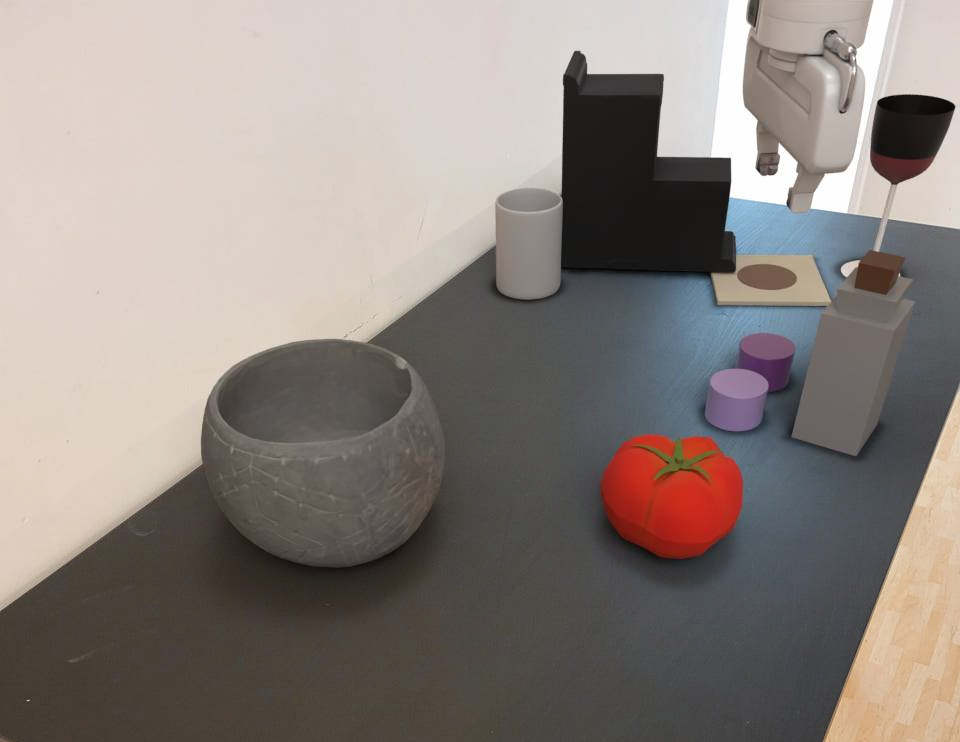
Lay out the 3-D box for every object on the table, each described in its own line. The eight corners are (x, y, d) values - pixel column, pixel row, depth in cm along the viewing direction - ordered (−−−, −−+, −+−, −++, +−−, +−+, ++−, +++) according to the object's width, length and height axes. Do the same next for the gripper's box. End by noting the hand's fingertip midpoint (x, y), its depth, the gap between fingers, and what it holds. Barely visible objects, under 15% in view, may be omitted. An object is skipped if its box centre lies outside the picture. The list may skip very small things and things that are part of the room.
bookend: (735, 241, 130) (761, 46, 114) (735, 274, 123) (763, 71, 106) (568, 238, 134) (570, 50, 118) (559, 271, 127) (559, 74, 110)
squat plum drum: (783, 365, 107) (791, 332, 105) (792, 392, 103) (799, 359, 100) (730, 365, 108) (736, 332, 105) (736, 392, 104) (743, 359, 101)
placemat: (811, 259, 127) (812, 254, 127) (830, 306, 117) (831, 300, 117) (706, 258, 128) (707, 253, 128) (717, 305, 118) (718, 300, 118)
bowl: (186, 524, 89) (142, 383, 79) (365, 441, 99) (347, 305, 88) (305, 641, 78) (271, 494, 67) (495, 535, 87) (493, 391, 76)
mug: (557, 301, 120) (560, 214, 112) (491, 298, 121) (490, 211, 114) (565, 262, 129) (568, 178, 121) (504, 260, 130) (503, 176, 122)
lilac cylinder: (757, 401, 102) (764, 368, 99) (765, 432, 98) (772, 398, 95) (702, 401, 102) (707, 367, 100) (707, 431, 98) (712, 397, 95)
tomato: (773, 549, 84) (793, 468, 78) (661, 598, 80) (673, 516, 74) (678, 473, 93) (689, 394, 87) (572, 514, 89) (576, 434, 83)
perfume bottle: (791, 437, 97) (833, 265, 84) (813, 407, 101) (857, 239, 88) (856, 456, 94) (909, 282, 82) (876, 425, 98) (930, 254, 85)
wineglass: (909, 286, 120) (961, 115, 106) (839, 283, 122) (882, 114, 107) (900, 260, 126) (948, 94, 112) (833, 258, 127) (872, 93, 113)
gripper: (901, 48, 71) (854, 232, 81) (810, -10, 85) (780, 152, 95) (819, 53, 71) (782, 237, 81) (742, -6, 85) (719, 156, 95)
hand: (780, 191), depth 88 cm, fingers open, 8 cm apart
